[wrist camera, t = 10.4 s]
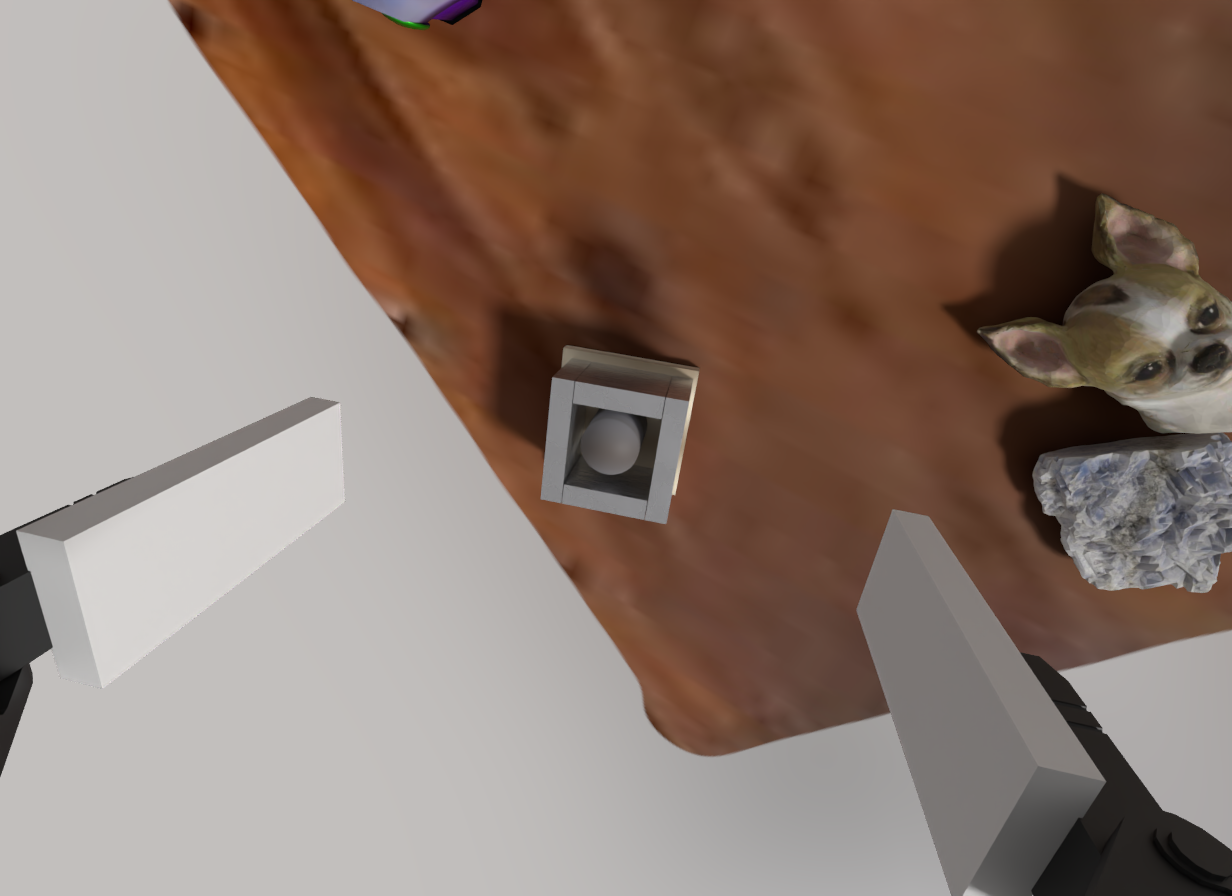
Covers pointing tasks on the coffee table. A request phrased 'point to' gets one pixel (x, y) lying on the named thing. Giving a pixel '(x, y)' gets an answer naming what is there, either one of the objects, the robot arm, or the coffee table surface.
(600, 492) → the grey hollow square block
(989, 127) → the coffee table surface
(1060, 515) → the rock
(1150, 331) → the ceramic sculpture
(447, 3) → the potion bottle
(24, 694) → the robot arm
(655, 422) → the cream square tile
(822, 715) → the coffee table surface
